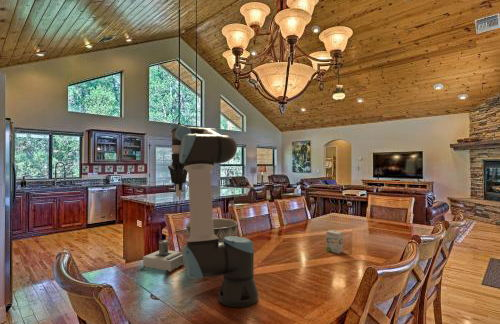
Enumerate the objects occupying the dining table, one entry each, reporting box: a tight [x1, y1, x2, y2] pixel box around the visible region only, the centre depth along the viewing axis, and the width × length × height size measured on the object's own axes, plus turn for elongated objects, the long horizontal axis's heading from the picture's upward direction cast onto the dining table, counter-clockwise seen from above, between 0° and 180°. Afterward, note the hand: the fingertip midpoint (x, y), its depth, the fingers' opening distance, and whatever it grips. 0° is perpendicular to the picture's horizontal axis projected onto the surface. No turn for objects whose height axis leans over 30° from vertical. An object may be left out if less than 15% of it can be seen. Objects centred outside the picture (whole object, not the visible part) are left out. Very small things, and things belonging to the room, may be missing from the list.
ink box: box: [325, 229, 344, 254], centre depth 171 cm, size 8×5×12 cm, turn 44°
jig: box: [142, 249, 184, 272], centre depth 148 cm, size 14×17×6 cm
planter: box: [185, 217, 239, 242], centre depth 145 cm, size 26×26×22 cm
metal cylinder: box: [158, 239, 169, 257], centre depth 148 cm, size 5×5×12 cm
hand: (178, 196), depth 157 cm, fingers closed
